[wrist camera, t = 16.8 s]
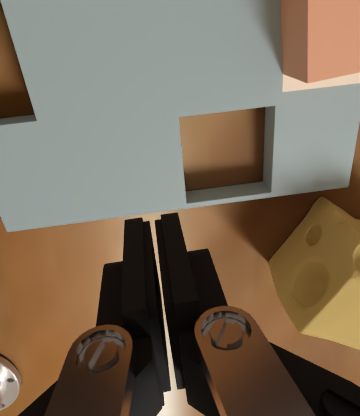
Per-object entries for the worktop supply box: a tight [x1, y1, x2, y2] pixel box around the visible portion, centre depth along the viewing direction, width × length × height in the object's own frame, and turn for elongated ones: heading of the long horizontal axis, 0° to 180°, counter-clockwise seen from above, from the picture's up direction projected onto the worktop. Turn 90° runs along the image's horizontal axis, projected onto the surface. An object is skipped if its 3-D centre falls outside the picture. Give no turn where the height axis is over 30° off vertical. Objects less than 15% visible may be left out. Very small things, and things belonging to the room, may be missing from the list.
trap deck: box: [0, 0, 360, 232], centre depth 28 cm, size 32×18×2 cm, turn 95°
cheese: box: [268, 196, 360, 350], centre depth 34 cm, size 10×11×10 cm
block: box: [281, 0, 360, 83], centre depth 23 cm, size 7×7×4 cm
